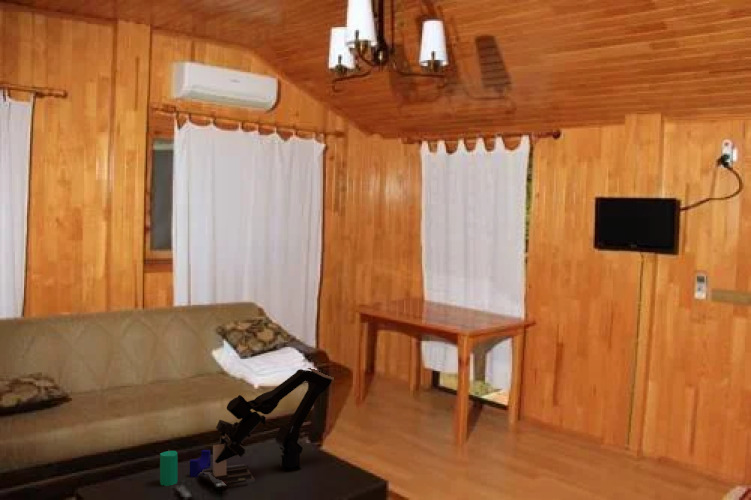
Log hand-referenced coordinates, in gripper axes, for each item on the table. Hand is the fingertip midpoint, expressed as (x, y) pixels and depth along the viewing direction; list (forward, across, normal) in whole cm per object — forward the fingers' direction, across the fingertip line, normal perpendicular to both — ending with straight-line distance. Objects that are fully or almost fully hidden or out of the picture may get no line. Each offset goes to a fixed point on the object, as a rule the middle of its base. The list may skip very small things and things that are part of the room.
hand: (214, 460), depth 239 cm
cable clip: (+8, -13, +3) cm, 15 cm away
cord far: (+1, -8, +10) cm, 12 cm away
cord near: (0, +8, +10) cm, 13 cm away
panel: (+1, 0, +10) cm, 10 cm away
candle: (+16, -5, -5) cm, 18 cm away
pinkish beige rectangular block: (+3, 0, +6) cm, 6 cm away
